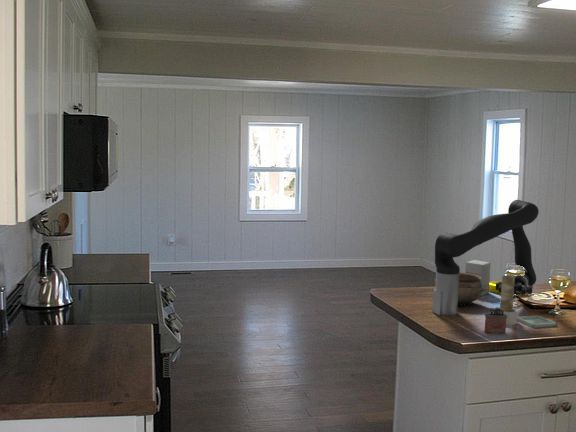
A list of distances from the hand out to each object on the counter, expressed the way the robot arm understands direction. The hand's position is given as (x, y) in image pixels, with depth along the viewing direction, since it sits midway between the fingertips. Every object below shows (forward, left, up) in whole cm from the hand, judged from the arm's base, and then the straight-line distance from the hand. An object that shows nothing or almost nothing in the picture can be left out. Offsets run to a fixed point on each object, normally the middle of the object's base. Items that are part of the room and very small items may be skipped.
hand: (511, 291), depth 261 cm
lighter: (-20, -19, -11) cm, 30 cm away
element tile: (+27, +40, -12) cm, 50 cm away
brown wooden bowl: (-8, +25, -11) cm, 29 cm away
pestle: (-7, -7, -10) cm, 14 cm away
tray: (+4, -11, -11) cm, 16 cm away
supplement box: (+11, +41, -11) cm, 44 cm away
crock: (-7, -7, -11) cm, 15 cm away
